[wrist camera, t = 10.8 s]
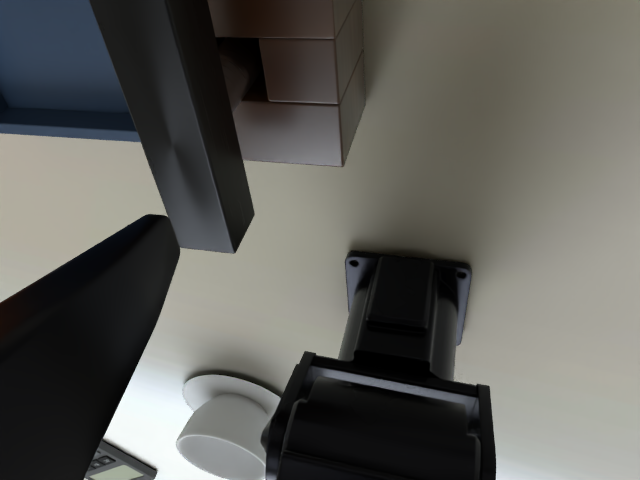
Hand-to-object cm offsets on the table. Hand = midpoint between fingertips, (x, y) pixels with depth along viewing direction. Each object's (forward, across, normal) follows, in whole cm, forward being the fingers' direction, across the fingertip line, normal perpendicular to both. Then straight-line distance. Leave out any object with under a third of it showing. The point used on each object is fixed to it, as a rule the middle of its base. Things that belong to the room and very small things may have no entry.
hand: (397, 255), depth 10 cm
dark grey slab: (+13, +7, +1) cm, 15 cm away
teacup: (+13, +14, +32) cm, 37 cm away
